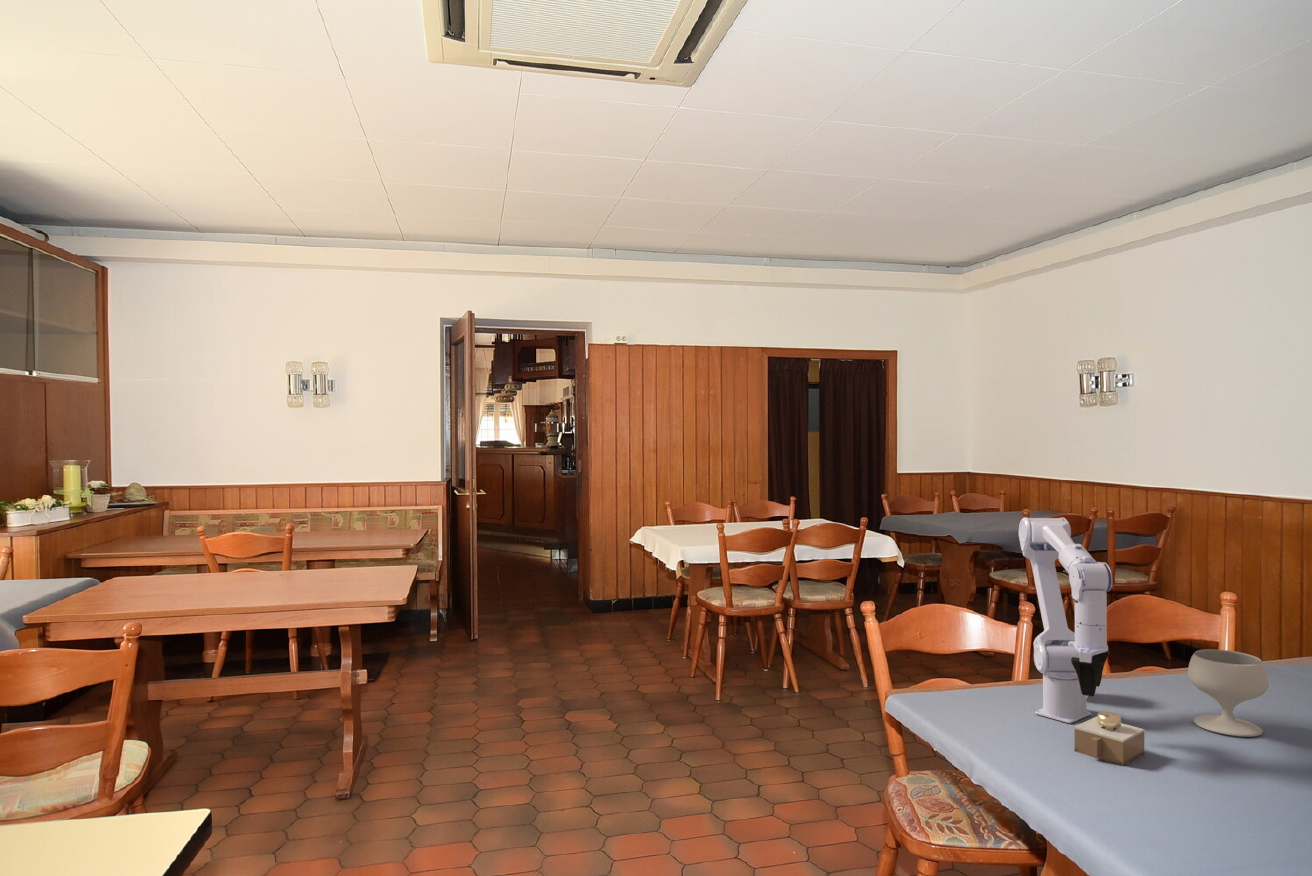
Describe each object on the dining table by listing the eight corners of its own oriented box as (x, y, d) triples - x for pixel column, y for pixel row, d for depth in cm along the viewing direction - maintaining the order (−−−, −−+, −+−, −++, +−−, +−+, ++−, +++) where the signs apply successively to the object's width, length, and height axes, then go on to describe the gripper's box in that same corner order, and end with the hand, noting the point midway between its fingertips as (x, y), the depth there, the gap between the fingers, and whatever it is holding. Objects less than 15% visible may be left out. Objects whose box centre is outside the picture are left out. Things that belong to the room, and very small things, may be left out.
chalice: (1272, 745, 163) (1272, 670, 162) (1188, 732, 170) (1188, 659, 170) (1265, 723, 174) (1265, 653, 174) (1187, 711, 182) (1187, 644, 182)
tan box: (1096, 740, 166) (1096, 716, 166) (1144, 754, 159) (1144, 729, 159) (1070, 753, 159) (1069, 728, 159) (1118, 768, 152) (1118, 742, 152)
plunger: (1103, 742, 162) (1103, 710, 162) (1124, 748, 159) (1124, 715, 159) (1093, 747, 160) (1093, 714, 160) (1115, 753, 157) (1115, 720, 157)
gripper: (1074, 613, 173) (1074, 678, 173) (1062, 627, 161) (1062, 696, 161) (1112, 618, 169) (1112, 683, 169) (1102, 632, 157) (1103, 702, 157)
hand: (1090, 690), depth 165 cm, fingers open, 7 cm apart
